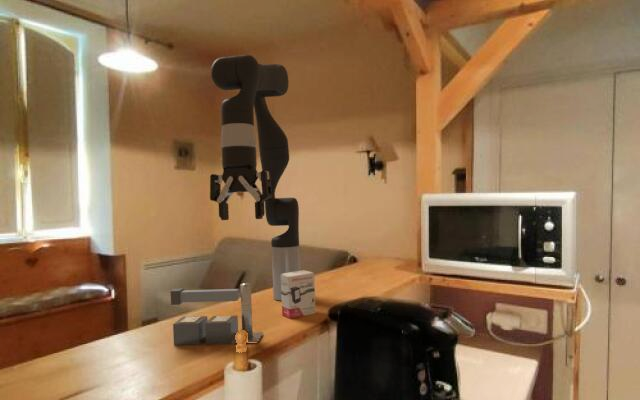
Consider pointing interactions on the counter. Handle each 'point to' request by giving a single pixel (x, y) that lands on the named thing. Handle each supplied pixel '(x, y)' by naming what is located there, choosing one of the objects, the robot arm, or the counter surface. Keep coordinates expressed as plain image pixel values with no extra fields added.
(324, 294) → the counter surface
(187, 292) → the bar
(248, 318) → the post
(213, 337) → the block
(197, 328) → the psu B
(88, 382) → the counter surface
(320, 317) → the counter surface
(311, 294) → the ink box
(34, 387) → the counter surface
